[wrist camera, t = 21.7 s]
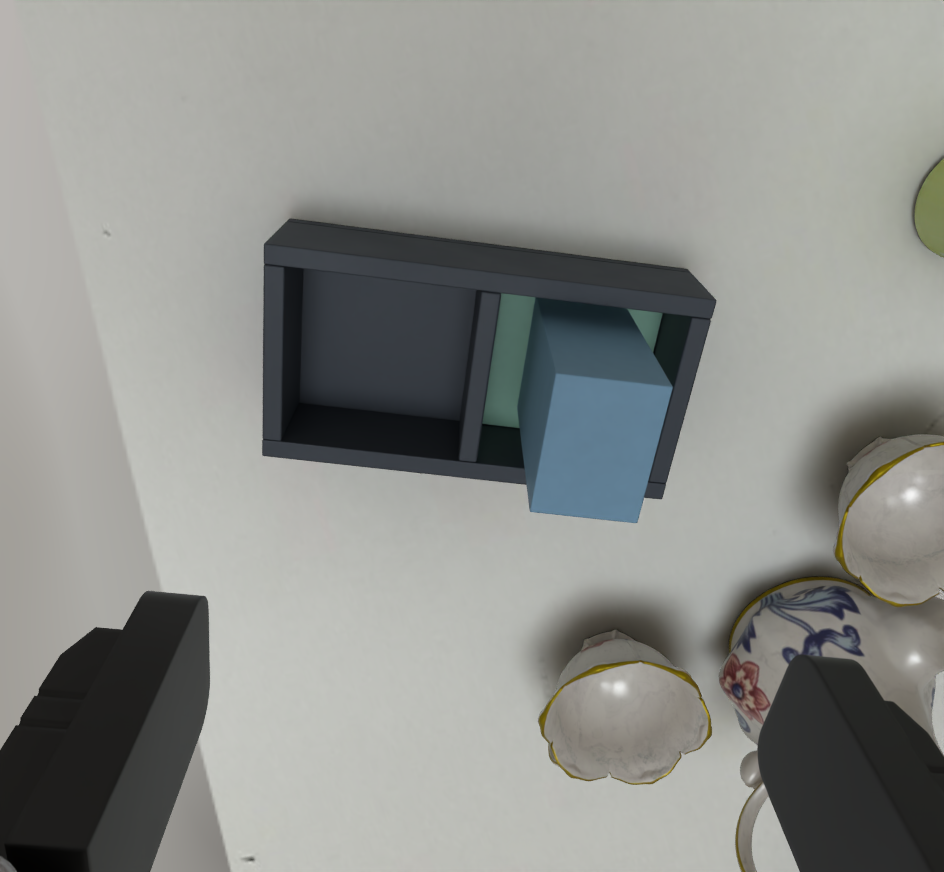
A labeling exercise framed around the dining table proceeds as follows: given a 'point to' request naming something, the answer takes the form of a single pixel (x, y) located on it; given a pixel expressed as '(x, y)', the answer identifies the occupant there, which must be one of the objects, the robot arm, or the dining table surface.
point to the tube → (932, 210)
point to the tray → (440, 345)
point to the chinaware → (779, 638)
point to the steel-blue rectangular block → (589, 411)
